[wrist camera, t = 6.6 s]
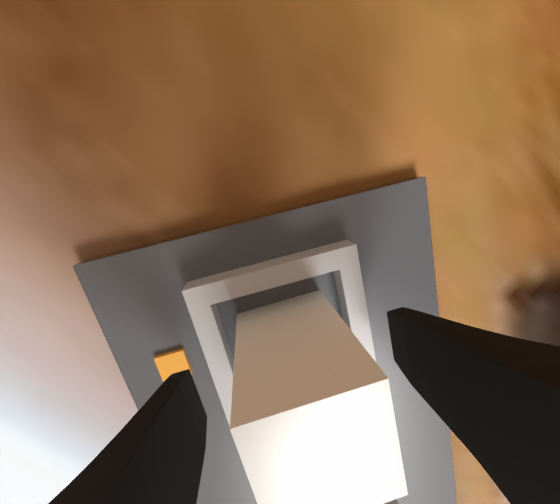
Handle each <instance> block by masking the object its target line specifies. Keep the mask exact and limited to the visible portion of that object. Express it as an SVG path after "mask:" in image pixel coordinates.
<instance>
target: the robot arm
mask: <svg viewBox="0 0 560 504" xmlns="http://www.w3.org/2000/svg"><path fill="white" fill-rule="evenodd" d="M387 317H388V324H389V331H390V337H391V344H392V351H393V357H394V361H395V362H396V364H397V365H398V367H399V368H400V369H401V371H402V372H403V374H404V375H405V377H406V378H407V379H408V381H409V382H410V384H411V385H412V386H413V387H414V389H415V390H416V391H417V392H418V393H419V394H420V395H421V397H422V398H423V399H424V400H425V401H426V402H427V403H428V404H429V406H430V407H431V408H432V409H433V410H434V411H435V412H436V413H437V415H438V416H439V417H440V418H441V419H442V420H443V421H444V422H445V424H446V425H447V426H448V427H449V428H450V429H451V430H452V431H453V433H454V434H455V435H456V436H457V437H458V438H459V439H460V440H461V442H462V443H463V444H464V445H465V446H466V447H467V448H468V450H469V451H470V452H471V453H472V454H473V456H474V457H475V458H476V459H477V460H478V462H479V463H480V464H481V465H482V467H483V468H484V469H485V471H486V472H487V473H488V474H489V476H490V477H491V478H492V480H493V481H494V482H495V484H496V485H497V486H498V488H499V489H500V490H501V492H502V493H503V494H504V496H505V497H506V498H507V499H508V501H509V502H510V503H511V504H560V347H559V346H554V345H549V344H544V343H539V342H534V341H528V340H524V339H519V338H515V337H510V336H506V335H502V334H498V333H494V332H490V331H486V330H482V329H479V328H475V327H471V326H468V325H464V324H461V323H457V322H454V321H451V320H447V319H444V318H441V317H437V316H434V315H431V314H427V313H424V312H420V311H417V310H413V309H410V308H405V307H401V308H397V309H394V310H390V311H387ZM206 433H207V415H206V412H205V409H204V407H203V404H202V401H201V399H200V396H199V393H198V391H197V388H196V385H195V383H194V380H193V377H192V375H191V372H190V370H189V369H187V370H184V371H180V372H177V373H173V374H171V375H170V376H169V377H168V378H167V379H166V380H165V381H164V382H163V383H162V385H161V386H160V387H159V388H158V389H157V390H156V391H155V392H154V394H153V395H152V396H151V397H150V398H149V399H148V400H147V402H146V403H145V404H144V405H143V406H142V407H141V408H140V410H139V411H138V412H137V413H136V414H135V415H134V416H133V418H132V419H131V420H130V421H129V422H128V423H127V424H126V425H125V427H124V428H123V429H122V430H121V431H120V432H119V433H118V434H117V435H116V436H115V437H114V438H113V439H112V441H111V442H110V443H109V444H108V445H107V446H106V447H105V448H104V449H103V450H102V451H101V452H100V453H99V454H98V455H97V457H96V458H95V459H94V460H93V461H92V462H91V463H90V464H89V465H88V466H87V467H86V468H85V469H84V470H83V471H82V472H81V473H80V474H79V475H78V476H77V477H76V478H75V479H74V480H73V481H72V482H71V483H70V484H69V485H68V486H67V487H66V488H65V489H63V490H62V491H61V492H60V493H59V494H58V495H57V496H56V497H55V498H54V499H53V500H52V501H51V502H50V503H49V504H196V503H197V497H198V491H199V485H200V480H201V474H202V468H203V462H204V455H205V448H206Z"/></svg>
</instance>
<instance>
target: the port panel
mask: <svg viewBox="0 0 560 504" xmlns="http://www.w3.org/2000/svg"><path fill="white" fill-rule="evenodd" d="M73 267H74V270H75V272H76V274H77V276H78V278H79V281H80V283H81V285H82V287H83V289H84V292H85V294H86V296H87V298H88V300H89V303H90V305H91V307H92V309H93V311H94V314H95V316H96V318H97V320H98V322H99V325H100V327H101V329H102V331H103V333H104V336H105V338H106V340H107V342H108V344H109V347H110V349H111V351H112V353H113V356H114V358H115V360H116V362H117V364H118V367H119V369H120V371H121V373H122V375H123V378H124V380H125V382H126V384H127V386H128V389H129V391H130V393H131V395H132V397H133V400H134V402H135V404H136V406H137V408H138V411H139V410H140V408H141V407H142V406H143V405H144V404H145V403H146V402H147V400H148V399H149V398H150V397H151V396H152V395H153V394H154V392H155V391H156V390H157V389H158V388H159V387H160V386H161V385H162V383H163V382H164V381H165V380H166V379H167V378H168V377H169V376H170V375H171V374H173V373H177V372H180V371H184V370H187V369H189V370H190V372H191V375H192V377H193V380H194V383H195V385H196V388H197V391H198V393H199V396H200V399H201V401H202V404H203V407H204V409H205V412H206V415H207V433H206V448H205V455H204V462H203V468H202V474H201V480H200V485H199V491H198V497H197V503H196V504H257V502H256V499H255V496H254V493H253V491H252V488H251V485H250V483H249V480H248V477H247V474H246V472H245V469H244V466H243V464H242V461H241V458H240V455H239V453H238V450H237V447H236V445H235V442H234V439H233V436H232V434H231V431H230V418H231V402H232V386H233V370H234V354H235V338H236V322H237V314H238V313H242V312H245V311H249V310H252V309H255V308H259V307H262V306H266V305H269V304H273V303H276V302H280V301H283V300H287V299H290V298H294V297H297V296H301V295H304V294H308V293H311V292H314V291H318V290H320V291H321V292H322V294H323V295H324V296H325V297H326V299H327V300H328V301H329V303H330V304H331V305H332V307H333V308H334V309H335V310H336V312H337V313H338V314H339V316H340V317H341V318H342V319H343V321H344V322H345V323H346V325H347V326H348V327H349V328H350V330H351V331H352V332H353V334H354V335H355V336H356V337H357V339H358V340H359V341H360V343H361V344H362V345H363V346H364V348H365V349H366V350H367V352H368V353H369V354H370V355H371V357H372V358H373V359H374V361H375V362H376V363H377V365H378V366H379V367H380V368H381V370H382V371H383V372H384V374H385V375H386V376H387V377H388V379H389V385H390V391H391V397H392V403H393V409H394V415H395V421H396V426H397V432H398V438H399V444H400V450H401V456H402V462H403V468H404V474H405V479H406V485H407V491H408V495H406V496H403V497H401V498H398V499H395V500H392V501H389V502H386V503H384V504H457V501H456V490H455V480H454V470H453V459H452V449H451V438H450V428H449V427H448V426H447V425H446V424H445V422H444V421H443V420H442V419H441V418H440V417H439V416H438V415H437V413H436V412H435V411H434V410H433V409H432V408H431V407H430V406H429V404H428V403H427V402H426V401H425V400H424V399H423V398H422V397H421V395H420V394H419V393H418V392H417V391H416V390H415V389H414V387H413V386H412V385H411V384H410V382H409V381H408V379H407V378H406V377H405V375H404V374H403V372H402V371H401V369H400V368H399V367H398V365H397V364H396V362H395V361H394V357H393V351H392V344H391V337H390V331H389V324H388V317H387V311H390V310H394V309H397V308H401V307H405V308H410V309H413V310H417V311H420V312H424V313H427V314H431V315H434V316H437V317H439V313H438V302H437V292H436V281H435V271H434V260H433V250H432V239H431V229H430V218H429V208H428V198H427V187H426V177H417V178H413V179H409V180H405V181H401V182H398V183H394V184H390V185H386V186H382V187H378V188H374V189H370V190H366V191H362V192H358V193H354V194H350V195H346V196H342V197H338V198H334V199H330V200H326V201H322V202H318V203H314V204H311V205H307V206H303V207H299V208H295V209H291V210H287V211H283V212H279V213H275V214H271V215H267V216H263V217H259V218H255V219H251V220H247V221H243V222H239V223H235V224H231V225H228V226H224V227H220V228H216V229H212V230H208V231H204V232H200V233H196V234H192V235H188V236H184V237H180V238H176V239H172V240H168V241H164V242H160V243H156V244H152V245H148V246H144V247H141V248H137V249H133V250H129V251H125V252H121V253H117V254H113V255H109V256H105V257H101V258H97V259H93V260H89V261H85V262H81V263H79V264H76V265H74V266H73Z"/></svg>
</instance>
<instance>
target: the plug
mask: <svg viewBox="0 0 560 504" xmlns="http://www.w3.org/2000/svg"><path fill="white" fill-rule="evenodd" d="M230 431H231V434H232V436H233V439H234V442H235V445H236V447H237V450H238V453H239V455H240V458H241V461H242V464H243V466H244V469H245V472H246V474H247V477H248V480H249V483H250V485H251V488H252V491H253V493H254V496H255V499H256V502H257V504H384V503H386V502H389V501H392V500H395V499H398V498H401V497H403V496H406V495H408V491H407V485H406V479H405V474H404V468H403V462H402V456H401V450H400V444H399V438H398V432H397V426H396V421H395V415H394V409H393V403H392V397H391V391H390V385H389V379H388V377H387V376H386V375H385V374H384V372H383V371H382V370H381V368H380V367H379V366H378V365H377V363H376V362H375V361H374V359H373V358H372V357H371V355H370V354H369V353H368V352H367V350H366V349H365V348H364V346H363V345H362V344H361V343H360V341H359V340H358V339H357V337H356V336H355V335H354V334H353V332H352V331H351V330H350V328H349V327H348V326H347V325H346V323H345V322H344V321H343V319H342V318H341V317H340V316H339V314H338V313H337V312H336V310H335V309H334V308H333V307H332V305H331V304H330V303H329V301H328V300H327V299H326V297H325V296H324V295H323V294H322V292H321V291H320V290H318V291H314V292H311V293H308V294H304V295H301V296H297V297H294V298H290V299H287V300H283V301H280V302H276V303H273V304H269V305H266V306H262V307H259V308H255V309H252V310H249V311H245V312H242V313H238V314H237V322H236V338H235V354H234V370H233V386H232V402H231V418H230Z"/></svg>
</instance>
